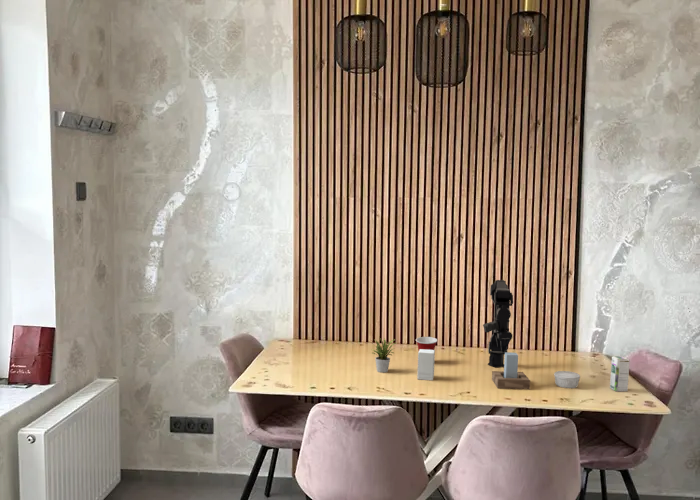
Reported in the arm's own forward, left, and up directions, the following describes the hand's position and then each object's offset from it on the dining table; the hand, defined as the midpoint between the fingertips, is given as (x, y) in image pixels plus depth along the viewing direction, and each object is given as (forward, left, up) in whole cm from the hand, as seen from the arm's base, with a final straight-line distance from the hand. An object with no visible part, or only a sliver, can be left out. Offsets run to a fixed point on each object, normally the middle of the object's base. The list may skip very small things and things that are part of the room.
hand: (500, 349), depth 313 cm
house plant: (+45, -29, -13) cm, 55 cm away
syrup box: (-37, +36, -13) cm, 53 cm away
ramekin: (-20, +22, -13) cm, 33 cm away
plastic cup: (+18, -36, -13) cm, 42 cm away
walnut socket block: (+3, +11, -13) cm, 18 cm away
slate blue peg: (+3, +11, -12) cm, 17 cm away
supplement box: (+33, -12, -13) cm, 38 cm away
